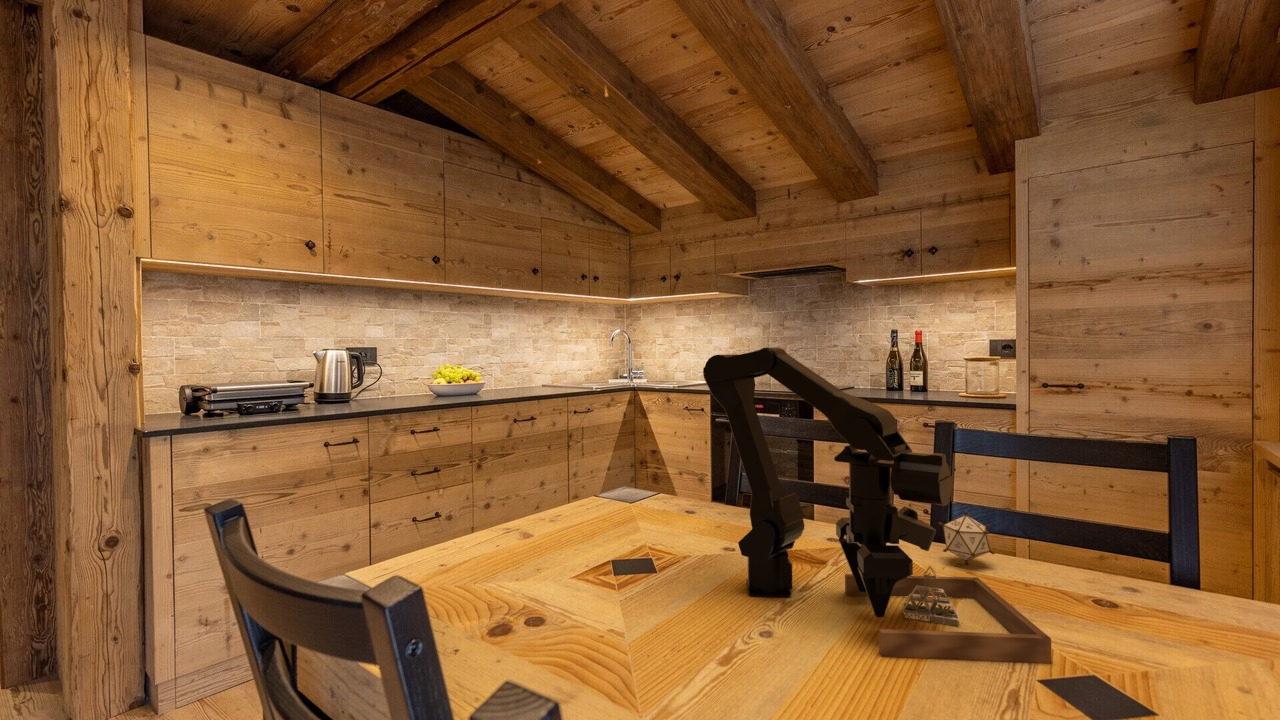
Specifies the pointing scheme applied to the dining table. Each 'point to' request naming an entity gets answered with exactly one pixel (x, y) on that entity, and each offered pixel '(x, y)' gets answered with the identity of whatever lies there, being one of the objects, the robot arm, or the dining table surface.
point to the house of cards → (932, 611)
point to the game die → (966, 538)
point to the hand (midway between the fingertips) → (870, 603)
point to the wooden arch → (1013, 647)
